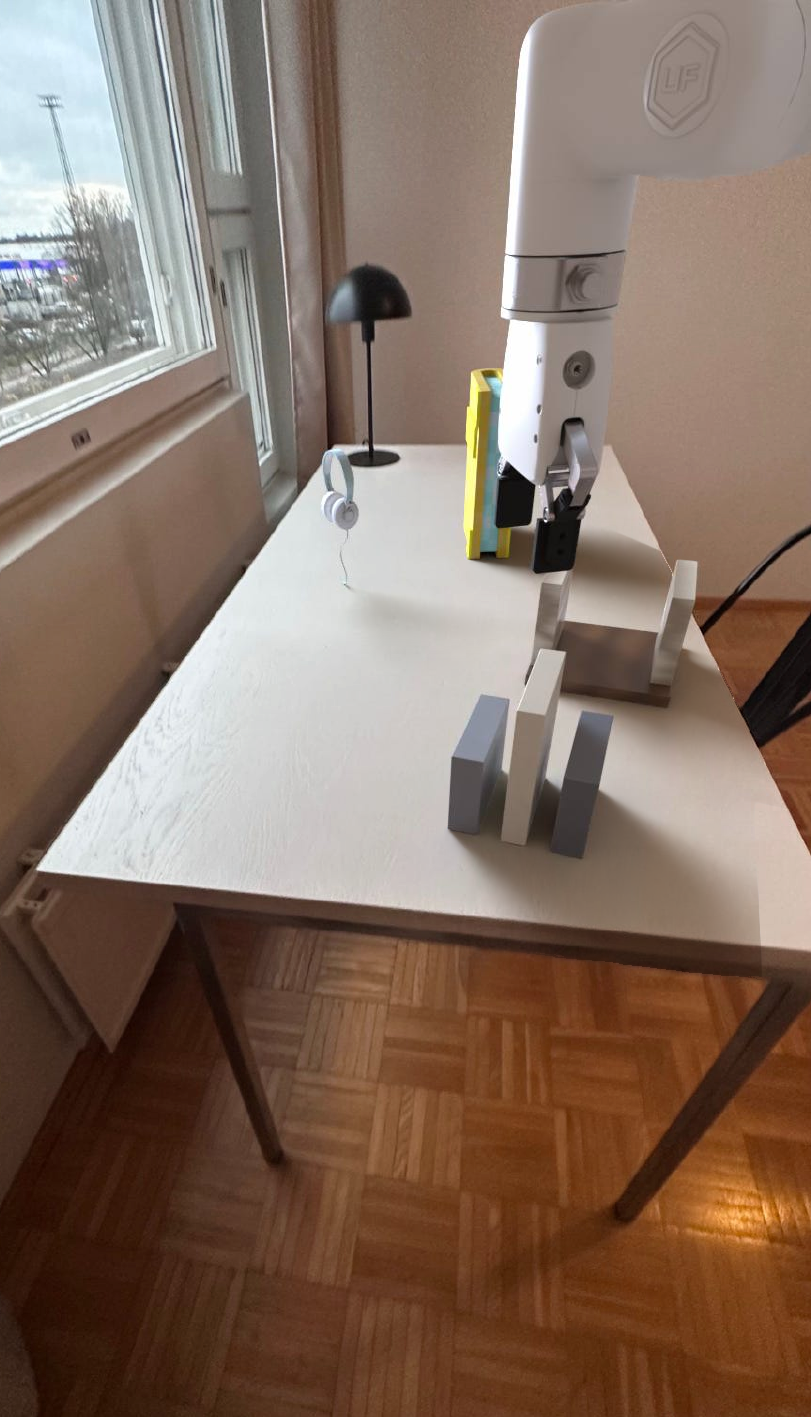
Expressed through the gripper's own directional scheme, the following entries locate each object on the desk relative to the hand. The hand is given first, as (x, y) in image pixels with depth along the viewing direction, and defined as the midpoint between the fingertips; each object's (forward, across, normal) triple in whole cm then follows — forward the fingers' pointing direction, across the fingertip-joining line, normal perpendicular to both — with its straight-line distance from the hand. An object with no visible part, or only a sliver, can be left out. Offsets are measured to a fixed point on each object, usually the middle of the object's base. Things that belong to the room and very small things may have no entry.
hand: (530, 546), depth 57 cm
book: (+26, +67, -17) cm, 74 cm away
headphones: (+26, +54, +10) cm, 61 cm away
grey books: (+26, -3, -1) cm, 26 cm away
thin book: (+26, -3, -1) cm, 26 cm away
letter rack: (+26, +22, -20) cm, 39 cm away
